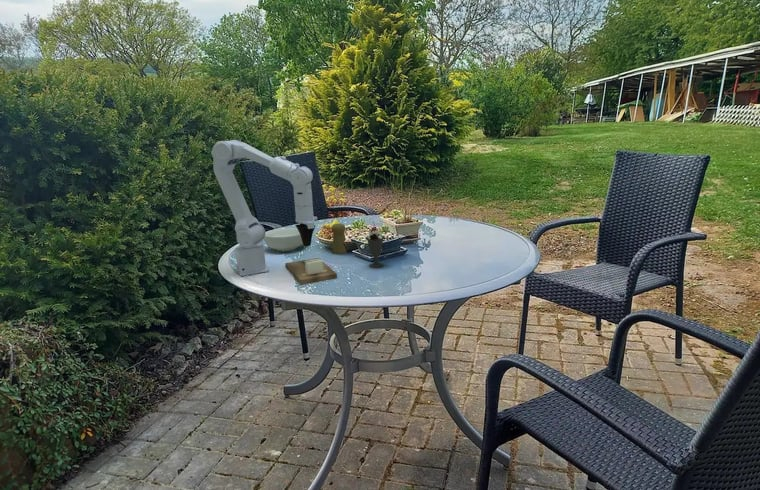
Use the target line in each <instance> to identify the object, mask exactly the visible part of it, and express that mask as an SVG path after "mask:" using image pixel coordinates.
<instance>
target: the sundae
mask: <svg viewBox="0 0 760 490" xmlns="http://www.w3.org/2000/svg"><path fill="white" fill-rule="evenodd" d="M372 224H373V227H371V230H370V231H369V233H368V235H367V236H366V237H365V238H364V240H367V245H368V251H369V253H370V254H371V256H373V257H374V258H373V259H374V260H373V263H370V264H369V265H368V266H369V267H370V268H372V269H380V268H383V267H384V264H383V263H380V262H379V259H378V257H379V256H380V255H381V254H382V253H383V252H382V251H383V242H384V240H385V239H386V236H384V235H383V234H381V233H380V232H379V230H378V229H377V228H376V227H375V226H376V225H375V222H374V221H373V222H372Z"/></svg>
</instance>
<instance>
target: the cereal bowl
mask: <svg viewBox="0 0 760 490" xmlns="http://www.w3.org/2000/svg"><path fill="white" fill-rule="evenodd" d="M263 242H264V243H265V245H266V246H267V247H268V248H271V249H274V250H276V251H278V252H290V251H295V250H296V249H297V248H299V247H300V246H302V245H303V243H302V239H301V236H300V233H299V231H298V229H297V227H282V228H274V229H272V230H268V231H265V237H264V239H263Z"/></svg>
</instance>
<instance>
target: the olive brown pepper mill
mask: <svg viewBox="0 0 760 490" xmlns="http://www.w3.org/2000/svg"><path fill="white" fill-rule="evenodd" d="M345 231H346V226H345V224H343V223H333V224H332V226H331V232H332V248H331V253H332V254H333V253H334V255H343V254H347V253H348V252H347V251H346V249H345V246H344V245H343V244H342V243H343V242H344V241H345V240H346V236H345V235H346V234H345ZM346 252H347V253H346Z"/></svg>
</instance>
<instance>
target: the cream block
mask: <svg viewBox="0 0 760 490" xmlns="http://www.w3.org/2000/svg"><path fill="white" fill-rule="evenodd" d="M313 259H314V258H313ZM307 260H308V259H307ZM323 262H324V261H323V260H322V259H321V258H319V259H314V260H308V261H305V269H306V273H307V274H308V275H310V274H316V273H322V272H323Z"/></svg>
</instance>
